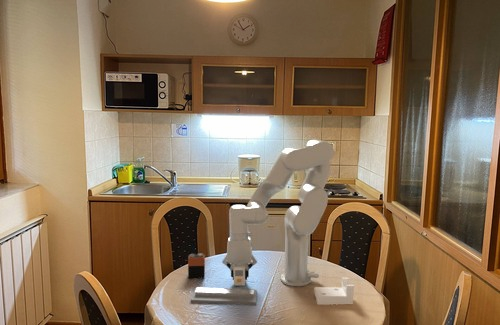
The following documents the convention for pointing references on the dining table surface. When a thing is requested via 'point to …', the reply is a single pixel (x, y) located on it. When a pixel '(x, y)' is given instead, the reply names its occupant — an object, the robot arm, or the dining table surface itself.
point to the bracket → (335, 294)
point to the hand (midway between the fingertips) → (239, 278)
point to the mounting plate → (224, 299)
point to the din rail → (224, 292)
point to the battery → (196, 266)
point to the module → (239, 274)
